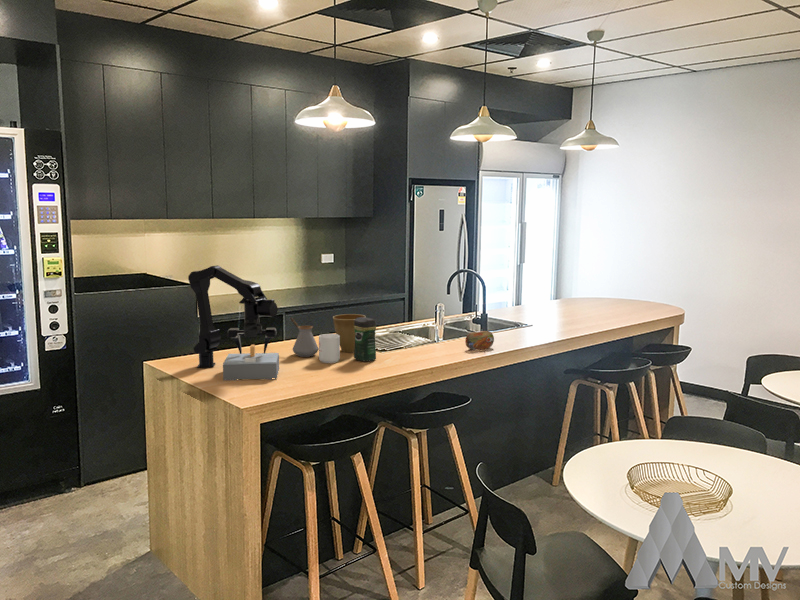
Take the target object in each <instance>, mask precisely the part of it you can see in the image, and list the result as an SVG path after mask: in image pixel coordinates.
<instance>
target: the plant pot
mask: <svg viewBox="0 0 800 600" xmlns="http://www.w3.org/2000/svg"><path fill="white" fill-rule="evenodd" d="M359 317H366V315H364V314H359V313H358V314H356V313H345V314H336V315H333V316H332V320H333V326H334V327H333V328H334V330H335V334H337V335H339V336H340V351H342V352H343V353H354V348H355V329H354V321H355V319H356V318H359Z"/></svg>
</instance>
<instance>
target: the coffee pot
mask: <svg viewBox="0 0 800 600" xmlns="http://www.w3.org/2000/svg"><path fill="white" fill-rule="evenodd" d="M287 320H288V321H290V322H292V323H293V325H295V327H296V328H297V329H298V331H299V332H298V335H297V337H296V340H295V342H294V345H293V347H292V351H293V353H294V354H295V355H296V356H297V357H299V356H300V357H301V358H310V356H311V357H314V356H315V355H316V354H317V353H319V345H318V344H317V342H316V340H315V337H314V334H313V333H312V330H313V327H314V326H313V325H299V324H298V323H297V322H296V321H295V319H294V318H293V317H289V318H288V319H287Z"/></svg>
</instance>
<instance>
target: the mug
mask: <svg viewBox="0 0 800 600" xmlns="http://www.w3.org/2000/svg"><path fill="white" fill-rule="evenodd" d="M318 348H319V350H318V359H319V361H320V363H323V364H334V363H337V362H339V361H340V359H341V356H340V355H341V352H340V351H341V347H340V336H339V335H337V334H336V333H323V334H319V335H318Z"/></svg>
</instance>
